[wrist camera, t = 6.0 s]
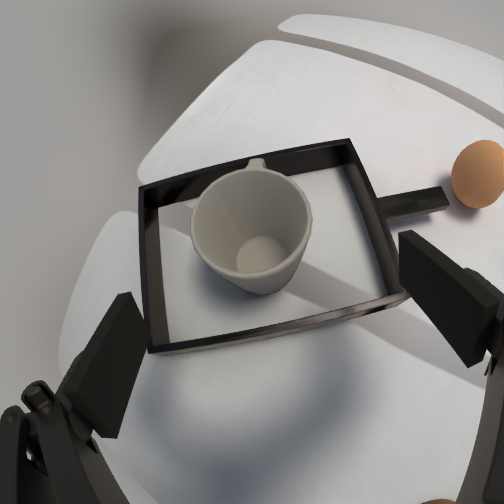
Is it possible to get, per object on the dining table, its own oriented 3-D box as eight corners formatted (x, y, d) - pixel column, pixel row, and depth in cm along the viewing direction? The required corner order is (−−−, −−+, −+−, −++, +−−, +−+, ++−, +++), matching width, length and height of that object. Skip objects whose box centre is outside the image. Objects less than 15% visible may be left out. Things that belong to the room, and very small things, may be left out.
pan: (165, 356, 24) (147, 354, 21) (152, 204, 30) (138, 186, 27) (460, 284, 23) (478, 273, 20) (403, 151, 29) (411, 130, 25)
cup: (216, 305, 26) (181, 276, 18) (226, 200, 29) (202, 143, 21) (307, 307, 24) (313, 279, 17) (306, 199, 28) (308, 139, 20)
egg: (491, 201, 25) (528, 158, 17) (469, 230, 25) (512, 188, 17) (456, 165, 27) (486, 115, 20) (431, 190, 27) (463, 138, 19)
